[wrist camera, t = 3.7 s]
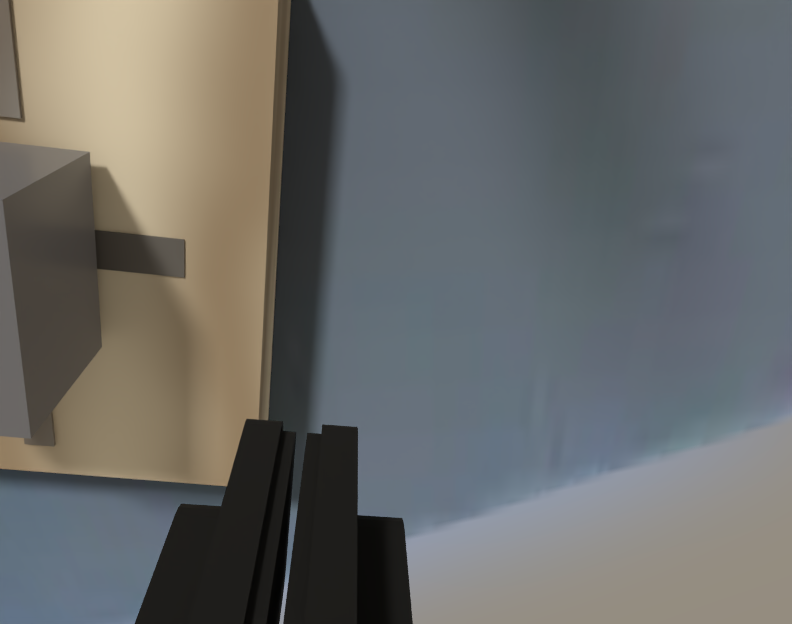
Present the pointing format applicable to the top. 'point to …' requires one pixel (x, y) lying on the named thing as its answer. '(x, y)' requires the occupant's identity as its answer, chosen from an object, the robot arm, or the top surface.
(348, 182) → the top surface
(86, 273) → the fader cap
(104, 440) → the fader panel
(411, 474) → the top surface
